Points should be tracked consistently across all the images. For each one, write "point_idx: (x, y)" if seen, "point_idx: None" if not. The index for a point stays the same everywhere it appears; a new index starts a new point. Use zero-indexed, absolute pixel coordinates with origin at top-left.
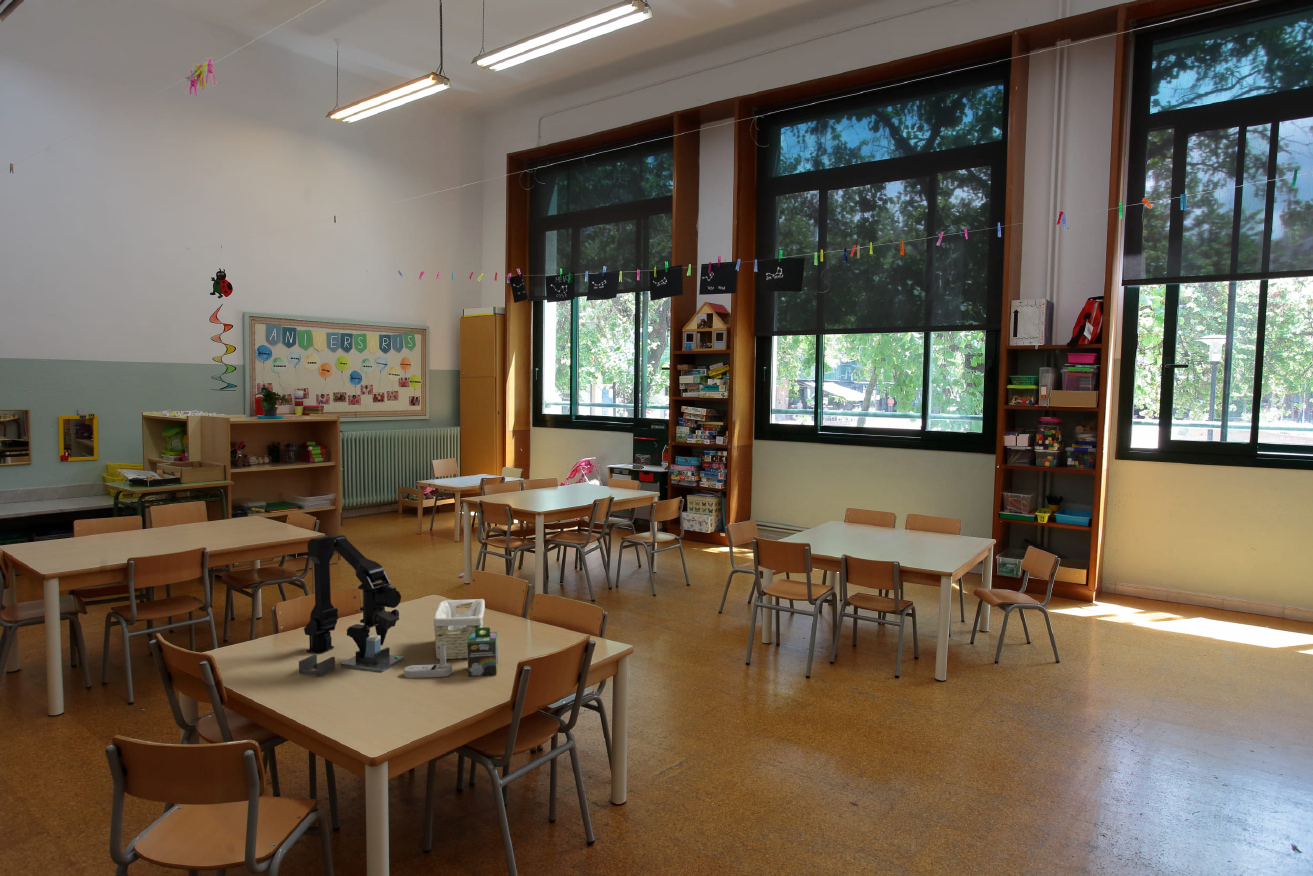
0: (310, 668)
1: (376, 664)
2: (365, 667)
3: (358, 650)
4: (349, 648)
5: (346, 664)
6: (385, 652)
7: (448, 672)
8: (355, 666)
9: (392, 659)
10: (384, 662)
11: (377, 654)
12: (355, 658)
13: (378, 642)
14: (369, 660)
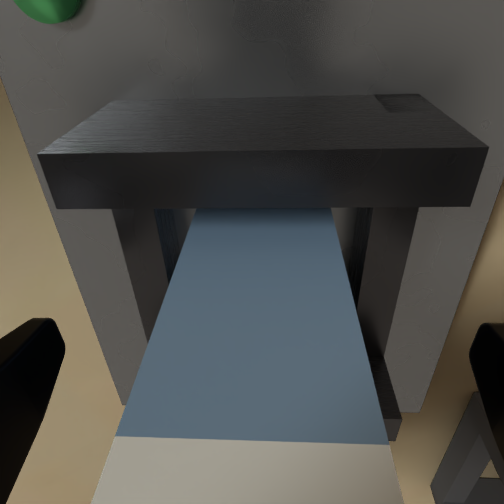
0: (499, 488)
1: (422, 94)
2: (496, 184)
3: None
4: None
5: (433, 371)
6: (182, 134)
7: None
8: (454, 294)
9: (141, 4)
10: (295, 44)
11: (442, 144)
12: None
13: (221, 368)
14: (410, 223)
